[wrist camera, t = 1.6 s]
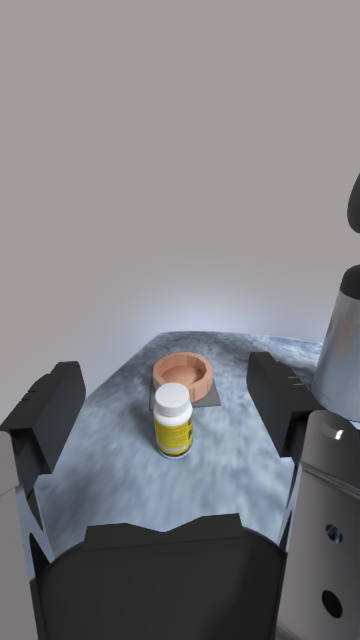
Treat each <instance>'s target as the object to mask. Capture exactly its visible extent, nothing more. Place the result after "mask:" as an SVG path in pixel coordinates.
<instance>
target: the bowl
mask: <svg viewBox="0 0 360 640" xmlns="http://www.w3.org/2000/svg"><path fill="white" fill-rule="evenodd" d="M153 382H154V388H155V390H156V391H157V389H158V388H159V387H161V386H162V385H164V384H167V383H180V384H182V385H184V386H185V387H186V388H187V389H188V391H189V398H190V403H194V402H197V401H199V400H201V399H203V398H204V397H205V396H206V395H207V394H208V393H209V392H210V389H211V386H212V383H213V370H212V366H211V363H210V362H209V361H208V360H207V359H205V358H204V357H203V356H201V355H199V354H195V353H191V352H175V353H171V354H169V355H166V356H164V357H162V358H160V359H159V360H158V361H157V362H156V363H155V365H154V366H153Z"/></svg>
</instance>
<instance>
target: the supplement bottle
mask: <svg viewBox="0 0 360 640" xmlns="http://www.w3.org/2000/svg"><path fill="white" fill-rule="evenodd" d="M153 412H154V422H155V432H156V442H157V447H158V450H159V452H160V453H161V454H162V455H163V456H164V457H166V458H169V459H179V458H182V457H184V456H185V455H186V454H187V453H188V452H189V451H190V449H191V447H192V443H193V416H192V415H193V409H192V405H191V403H190V398H189V391H188V389H187V388H186V387H185V386H184V385H182V384H180V383H167V384H164V385H162V386H161V387H159V388H158V389H157V391H156V393H155V405H154V410H153Z"/></svg>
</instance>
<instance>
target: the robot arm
mask: <svg viewBox="0 0 360 640" xmlns="http://www.w3.org/2000/svg"><path fill="white" fill-rule="evenodd" d="M347 218H348V222H349V225H350V227H351V228H352V229H353V230H354V231H355V232H357V233H360V174H359V176H358V178H357V180H356V182H355V184H354V187H353V189H352V192H351V195H350V199H349V203H348V210H347ZM246 382H247V388H248V391H249V394H250V396H251V398H252V400H253V402H254V404H255V406H256V408H257V410H258V412H259V414H260V417H261V419H262V421H263V423H264V425H265V427H266V429H267V431H268V433H269V435H270V437H271V439H272V441H273V444H274V446H275V448H276V450H277V452H278V454H279V456H280V458H282V457H291V458H292V459H293V461H294V463H295V464H294V467H293V472H292V477H291V482H290V487H289V492H288V497H287V502H286V507H285V512H284V517H283V521H282V525H281V529H280V533H279V537H278V542H277V544H276V543H274V542H273V541H272V540H270V539H269V538H267V537H266V536H264V535H262V534H260V533H259V532H257V531H254V530H252V529H249V528H247V527H243V526H242V524H241V520H240V516H239V513H235V514H223V515H212V516H202V517H200V518H197V519H195V520H193V521H191V522H188V523H186V524H184V525H181V526H179V527H177V528H174V529H172V530H170V531H167V532H159V531H155V530H151V529H147V528H143V527H139V526H136V525H132V524H128V523H119V524H107V525H96V526H87V530H86V534H85V538H84V541H83V542H80V543H78V544H76V545H75V546H73V547H71V548H69V549H68V550H67V551H65V552H64V553H62V554H61V555H60V556H58V557H57V558H56V559H55V556H54V553H53V551H52V548H51V545H50V542H49V539H48V536H47V532H46V528H45V524H44V519H43V515H42V511H41V507H40V503H39V499H38V494H37V490H36V487H35V485H34V484H35V482H36V480H37V478H38V476H39V475H42V474H52V472H53V470H54V468H55V465H56V463H57V461H58V459H59V456H60V454H61V452H62V450H63V448H64V445H65V443H66V441H67V439H68V436H69V434H70V432H71V430H72V427H73V425H74V423H75V421H76V418H77V416H78V414H79V412H80V409H81V407H82V405H83V403H84V400H85V394H86V389H85V385H84V380H83V377H82V373H81V369H80V365H79V363H78V362H77V361H71V362H59V363H58V364H57V365H56V366H55V367H54V369H53V370H52V371H51V373H50V374H46V375H44V376H43V377H41V378H40V379H39V380H37V381H36V382H35V383H34V384H33V385H32V387H31V388H30V389H29V390H28V393H26V394H25V395H24V397H23V398H22V401H20V402H19V403H18V404H17V405H16V407H15V408H14V409H13V411H12V412H11V413H10V414H9V415H8V417H7V418H6V419H5V420H4V422H3V423H2V424H1V425H0V640H360V430H359V429H356V428H355V427H354V426H353V424H352V423H350V422H349V421H348V420H352V421H357V422H360V265H356V266H353V267H351V268H350V269H348V270H347V271H346V272H345V274H344V276H343V279H342V282H341V286H340V289H339V292H338V296H337V299H336V303H335V306H334V310H333V313H332V316H331V320H330V323H329V327H328V330H327V333H326V337H325V340H324V344H323V347H322V350H321V354H320V357H319V361H318V364H317V367H316V371H315V374H314V378H313V381H312V384H311V392H312V394H311V392H310V391H309V390H308V389H307V388H306V386H305V385H303V383H302V382H301V381H300V379H299V378H297V376H296V375H295V373H294V372H293V371H292V370H291V369H290V368H289V367H288V366H286V365H285V364H283V363H282V362H276V361H275V360H274V359H273V357H272V356H271V355H270V353H269V352H251V353H250V356H249V363H248V371H247V379H246ZM321 405H322V406H323V407H324V408H325V409H327V410H329V411H326V410H325V409H324V408H323V407H322V406H321ZM347 419H348V420H347Z"/></svg>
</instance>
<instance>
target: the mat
mask: <svg viewBox="0 0 360 640" xmlns="http://www.w3.org/2000/svg"><path fill="white" fill-rule="evenodd" d="M153 366H154V365H153ZM155 393H156V390H155V388H154V382H153V371H152V386H151V402H150V411H153V410H154V405H155ZM191 405H192V408H194V407H207V406H220V405H221V402H220V399H219V395H218V392H217V389H216V386H215V382H214V379H213V383H212V386H211V389H210V392H209V393H208V394H207V395H206V396H205V397H204V398H203V399H201V400H199V401H197V402H194V403H191Z"/></svg>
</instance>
